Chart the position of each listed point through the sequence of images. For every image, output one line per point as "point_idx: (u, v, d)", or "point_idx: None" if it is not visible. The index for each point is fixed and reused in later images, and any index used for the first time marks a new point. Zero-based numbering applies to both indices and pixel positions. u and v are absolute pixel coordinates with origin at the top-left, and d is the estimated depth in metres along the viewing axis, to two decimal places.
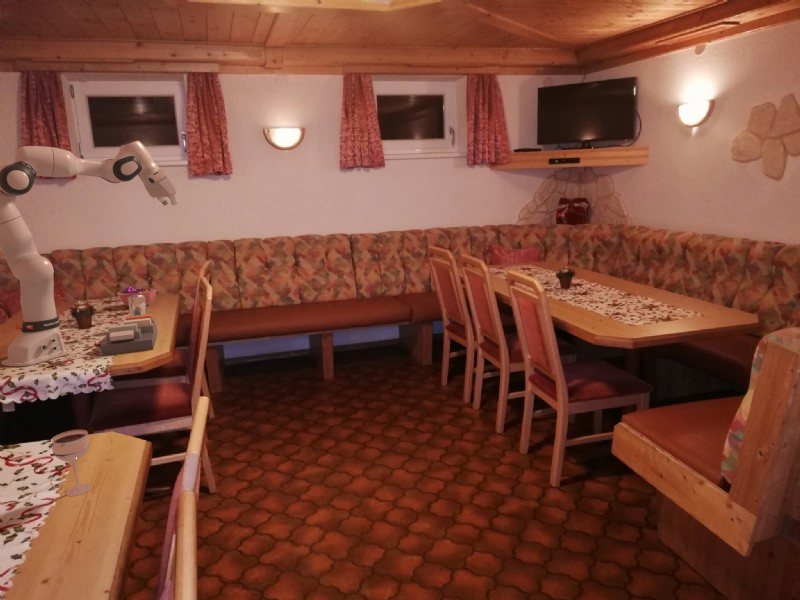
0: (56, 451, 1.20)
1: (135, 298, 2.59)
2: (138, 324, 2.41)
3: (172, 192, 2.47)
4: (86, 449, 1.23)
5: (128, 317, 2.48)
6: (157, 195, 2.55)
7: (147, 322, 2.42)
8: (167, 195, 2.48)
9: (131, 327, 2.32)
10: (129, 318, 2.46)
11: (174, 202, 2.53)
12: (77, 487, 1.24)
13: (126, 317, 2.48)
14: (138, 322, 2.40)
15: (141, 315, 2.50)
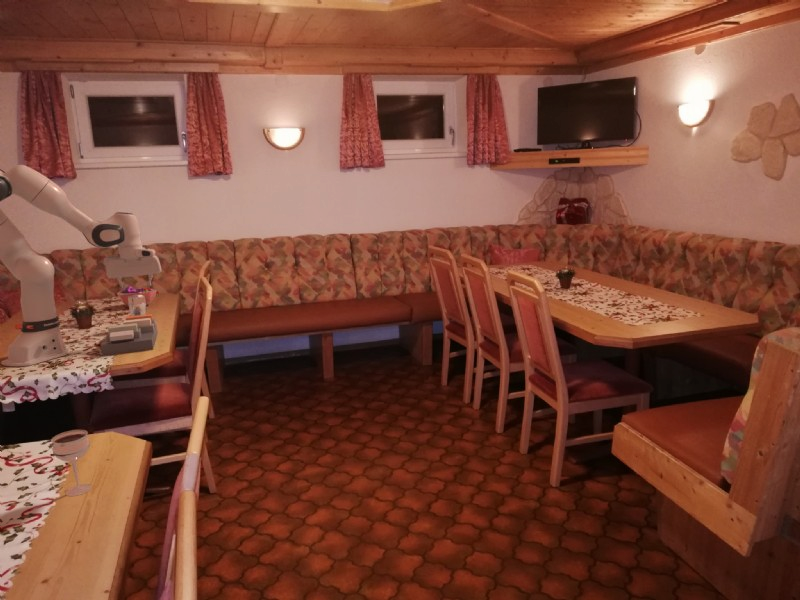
0: (56, 451, 1.20)
1: (135, 298, 2.59)
2: (138, 324, 2.41)
3: None
4: (86, 449, 1.23)
5: (128, 317, 2.48)
6: (128, 274, 2.37)
7: (147, 322, 2.42)
8: (154, 272, 2.39)
9: (131, 327, 2.32)
10: (129, 318, 2.46)
11: (150, 282, 2.41)
12: (77, 487, 1.24)
13: (126, 317, 2.48)
14: (138, 322, 2.40)
15: (141, 315, 2.50)
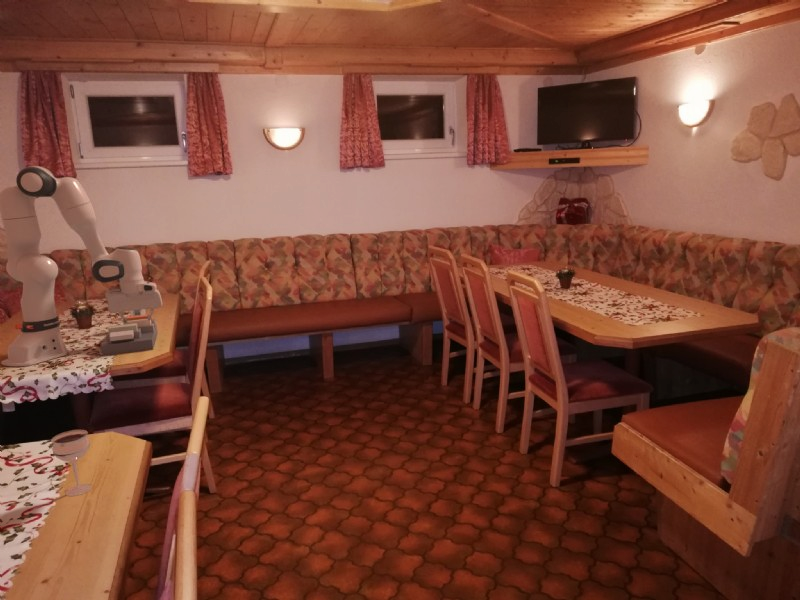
0: (56, 451, 1.20)
1: None
2: (138, 325, 2.41)
3: None
4: (86, 449, 1.23)
5: (128, 317, 2.48)
6: (129, 308, 2.39)
7: (147, 323, 2.42)
8: (155, 306, 2.42)
9: (131, 327, 2.32)
10: (129, 318, 2.46)
11: (151, 316, 2.43)
12: (77, 487, 1.24)
13: None
14: (138, 323, 2.40)
15: (141, 315, 2.50)
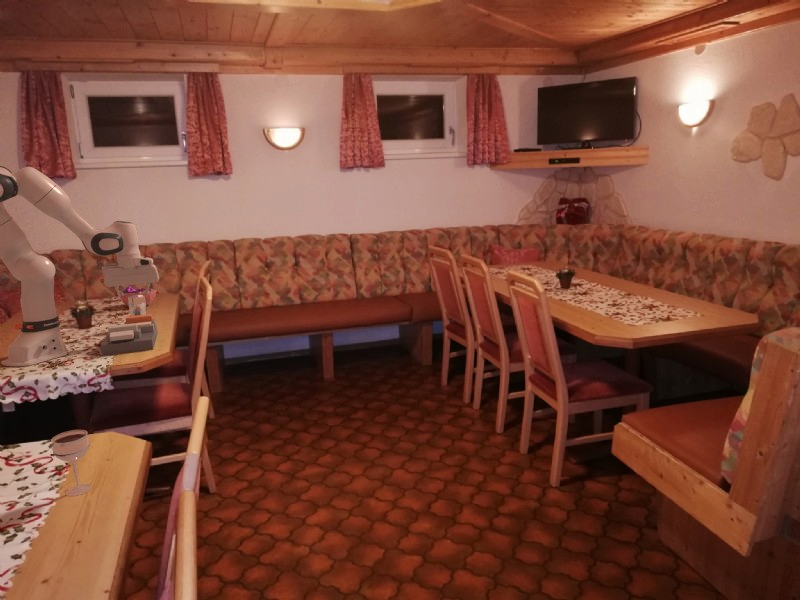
0: (56, 451, 1.20)
1: (135, 298, 2.59)
2: None
3: (158, 278, 2.43)
4: (86, 449, 1.23)
5: (128, 317, 2.48)
6: (126, 282, 2.38)
7: None
8: (152, 280, 2.41)
9: (131, 327, 2.32)
10: (129, 318, 2.46)
11: None
12: (77, 487, 1.24)
13: (126, 317, 2.48)
14: (139, 326, 2.41)
15: (141, 315, 2.50)
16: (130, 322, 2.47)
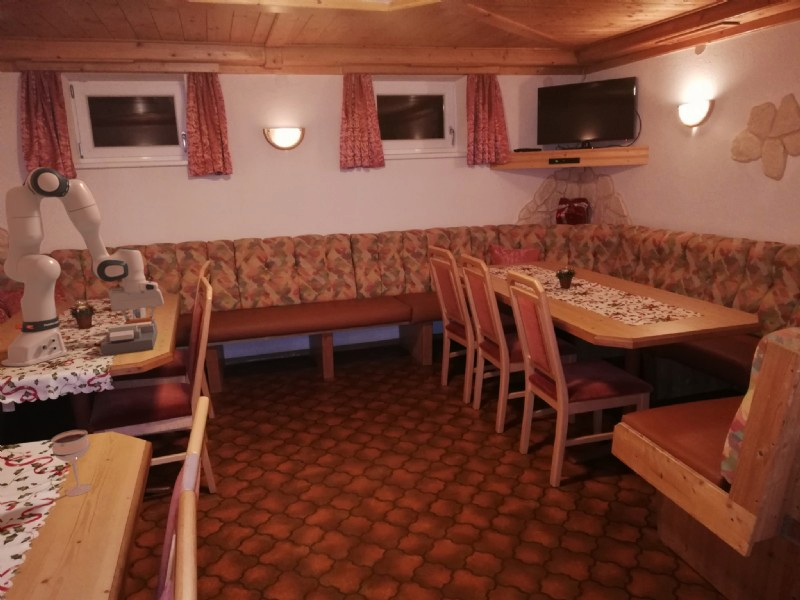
0: (56, 451, 1.20)
1: None
2: None
3: (163, 302, 2.51)
4: (86, 449, 1.23)
5: (128, 320, 2.48)
6: (132, 306, 2.46)
7: None
8: (157, 304, 2.49)
9: (131, 327, 2.32)
10: (129, 321, 2.47)
11: None
12: (77, 487, 1.24)
13: (126, 320, 2.48)
14: (139, 326, 2.41)
15: (141, 318, 2.51)
16: None
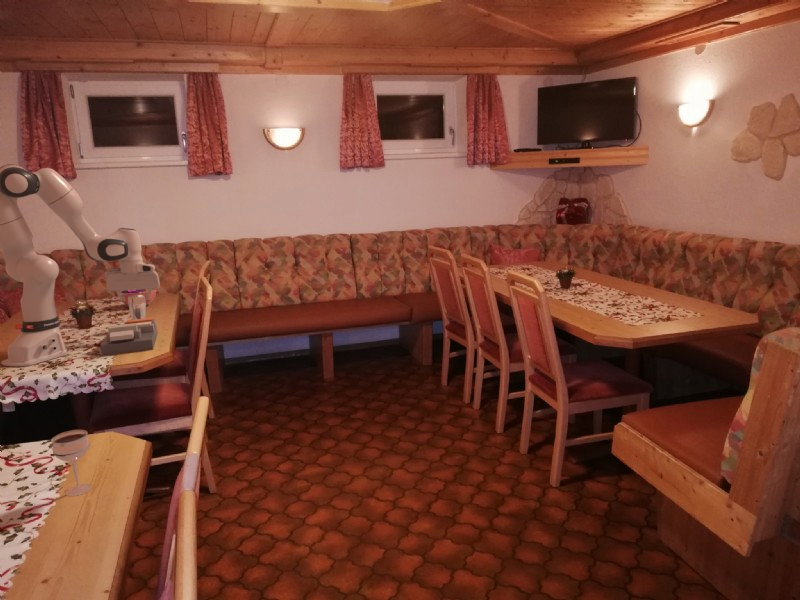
0: (56, 451, 1.20)
1: (135, 298, 2.59)
2: None
3: (159, 284, 2.50)
4: (86, 449, 1.23)
5: (129, 321, 2.48)
6: (127, 287, 2.44)
7: None
8: (153, 286, 2.47)
9: (131, 327, 2.32)
10: (130, 322, 2.47)
11: None
12: (77, 487, 1.24)
13: (127, 321, 2.48)
14: (139, 326, 2.41)
15: (142, 319, 2.51)
16: None
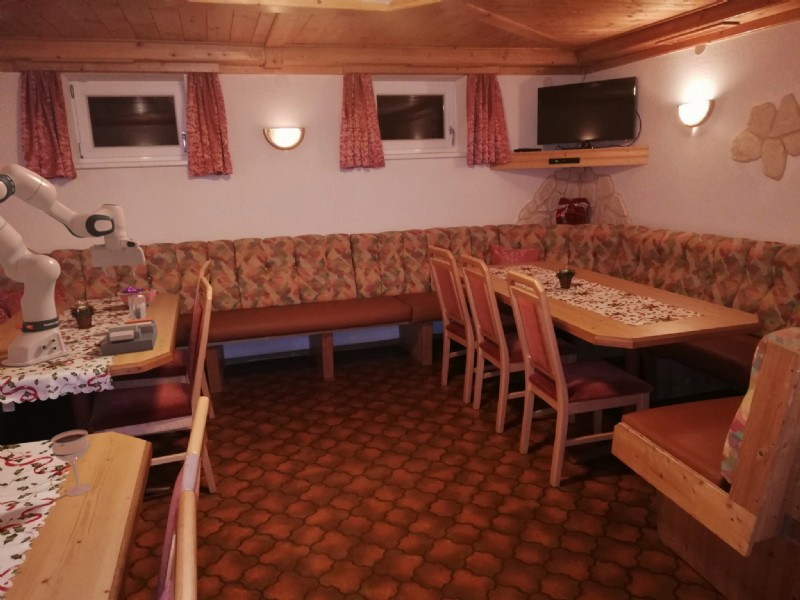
0: (56, 451, 1.20)
1: (135, 298, 2.59)
2: None
3: (144, 260, 2.52)
4: (86, 449, 1.23)
5: (129, 321, 2.48)
6: (112, 263, 2.47)
7: None
8: (138, 262, 2.50)
9: (131, 327, 2.32)
10: (130, 322, 2.47)
11: (134, 272, 2.52)
12: (77, 487, 1.24)
13: (127, 321, 2.48)
14: (139, 326, 2.41)
15: (142, 319, 2.51)
16: None
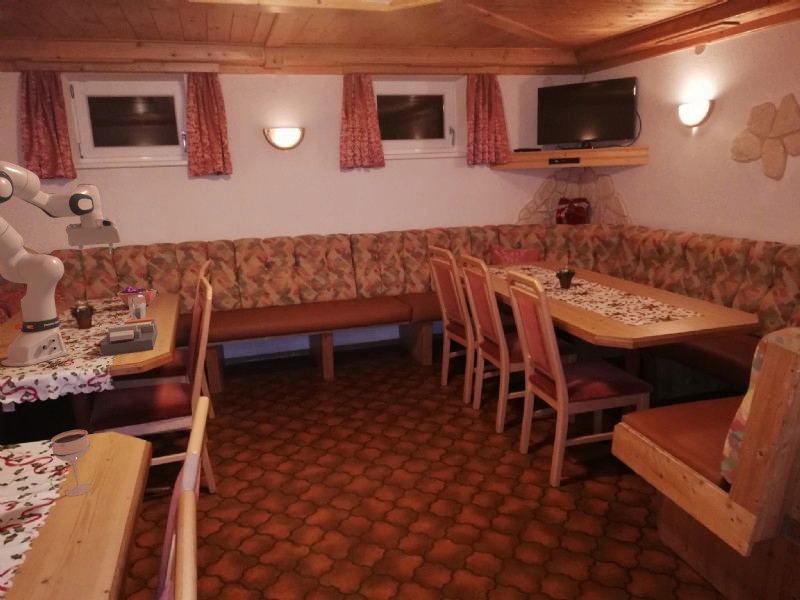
0: (56, 451, 1.20)
1: (135, 298, 2.59)
2: None
3: (120, 239, 2.58)
4: (86, 449, 1.23)
5: (129, 321, 2.48)
6: (89, 242, 2.53)
7: None
8: (114, 241, 2.56)
9: (131, 327, 2.32)
10: (130, 322, 2.47)
11: (110, 251, 2.58)
12: (77, 487, 1.24)
13: (127, 321, 2.48)
14: (139, 326, 2.41)
15: (142, 319, 2.51)
16: None
